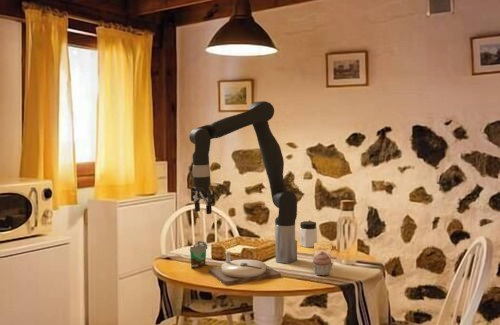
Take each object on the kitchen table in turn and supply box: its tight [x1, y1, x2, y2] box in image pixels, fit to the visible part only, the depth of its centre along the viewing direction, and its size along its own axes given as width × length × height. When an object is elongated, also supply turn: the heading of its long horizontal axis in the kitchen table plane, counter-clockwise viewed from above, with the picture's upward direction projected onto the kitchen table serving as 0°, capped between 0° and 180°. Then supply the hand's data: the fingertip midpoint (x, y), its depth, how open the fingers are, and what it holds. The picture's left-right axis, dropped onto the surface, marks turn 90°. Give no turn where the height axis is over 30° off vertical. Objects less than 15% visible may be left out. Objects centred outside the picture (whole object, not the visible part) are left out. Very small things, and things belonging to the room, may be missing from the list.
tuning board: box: [207, 264, 282, 286], centre depth 233 cm, size 25×20×2 cm
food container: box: [189, 240, 209, 269], centre depth 248 cm, size 12×6×10 cm, turn 168°
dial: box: [221, 251, 267, 278], centre depth 233 cm, size 19×19×7 cm
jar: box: [299, 220, 318, 248], centre depth 282 cm, size 9×8×12 cm
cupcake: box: [310, 250, 334, 276], centre depth 232 cm, size 9×9×10 cm
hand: (203, 212), depth 235 cm, fingers open, 8 cm apart
